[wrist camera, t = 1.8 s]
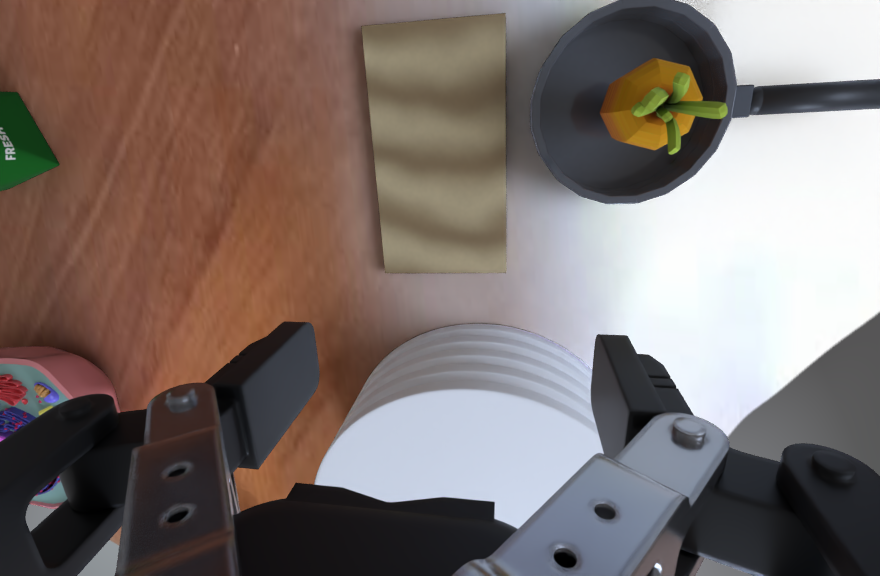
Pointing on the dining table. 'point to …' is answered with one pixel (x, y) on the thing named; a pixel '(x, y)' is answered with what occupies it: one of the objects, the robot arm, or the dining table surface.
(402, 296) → the dining table surface
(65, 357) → the cell model
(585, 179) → the pan
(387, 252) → the board
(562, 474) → the plate stack
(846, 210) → the dining table surface
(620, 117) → the carrot
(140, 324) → the dining table surface
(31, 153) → the milk carton
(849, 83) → the pan handle
